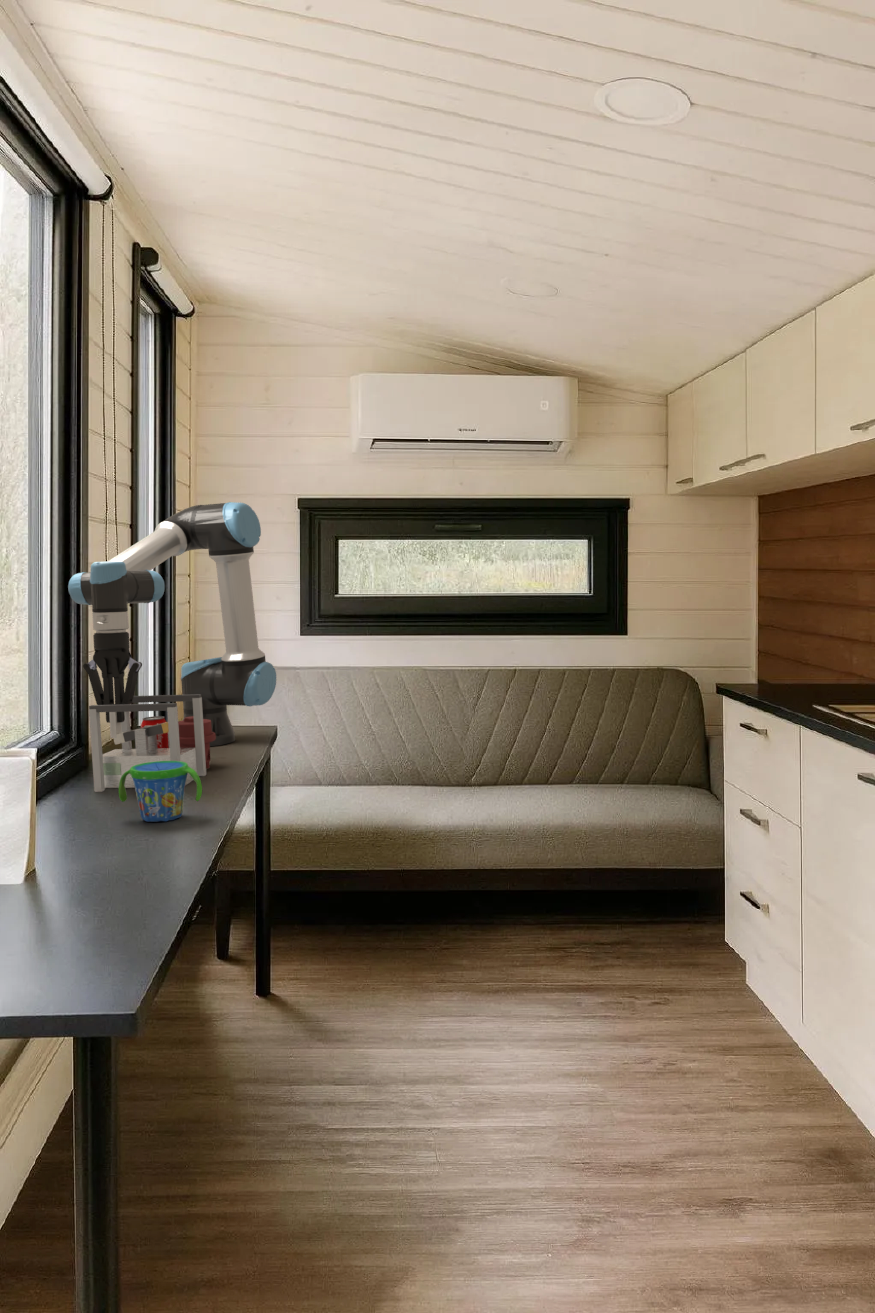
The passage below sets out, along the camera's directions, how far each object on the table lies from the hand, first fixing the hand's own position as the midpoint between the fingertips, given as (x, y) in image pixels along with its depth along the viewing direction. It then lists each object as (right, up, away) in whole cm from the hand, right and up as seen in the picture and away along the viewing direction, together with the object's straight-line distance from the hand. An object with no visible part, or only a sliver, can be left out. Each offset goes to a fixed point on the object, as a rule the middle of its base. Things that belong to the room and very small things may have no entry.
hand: (116, 737), depth 220 cm
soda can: (+3, -9, +20) cm, 22 cm away
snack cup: (+20, -13, -33) cm, 41 cm away
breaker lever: (+7, 0, -1) cm, 7 cm away
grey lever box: (+7, -10, 0) cm, 13 cm away
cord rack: (+7, -10, 0) cm, 13 cm away
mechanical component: (+14, -9, +16) cm, 23 cm away
